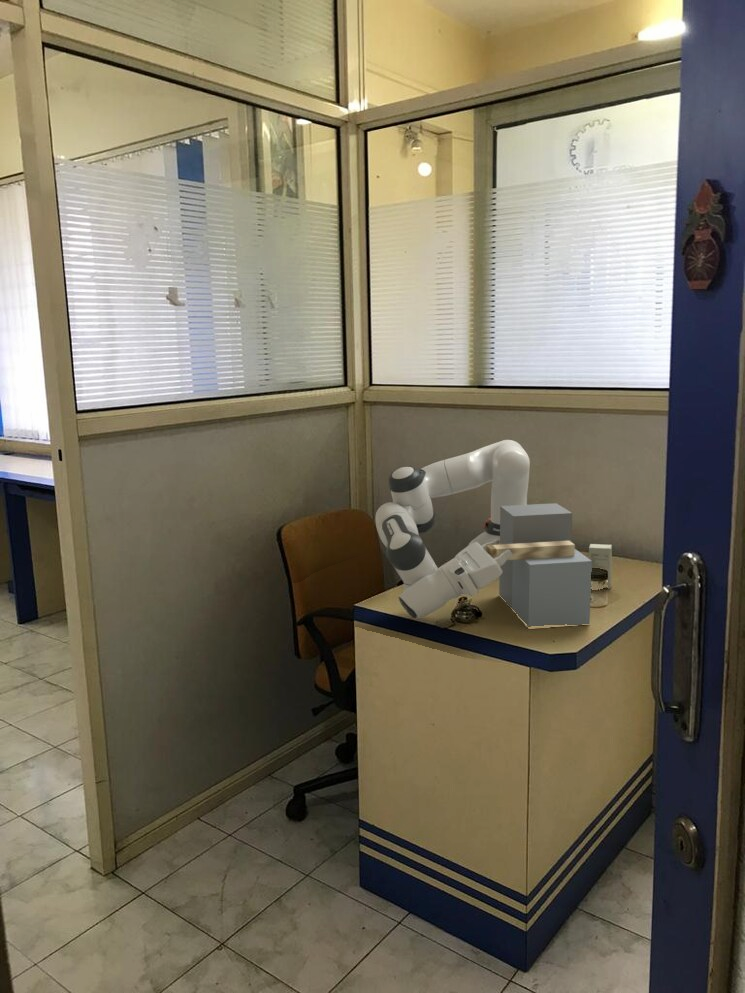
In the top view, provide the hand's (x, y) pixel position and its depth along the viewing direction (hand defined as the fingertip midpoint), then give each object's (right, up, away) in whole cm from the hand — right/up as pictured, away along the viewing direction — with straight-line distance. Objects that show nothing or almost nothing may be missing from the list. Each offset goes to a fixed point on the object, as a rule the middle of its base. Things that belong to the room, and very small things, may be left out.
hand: (505, 546), depth 208 cm
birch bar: (+7, -3, +1) cm, 7 cm away
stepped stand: (+12, -18, +12) cm, 24 cm away
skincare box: (+32, -14, +30) cm, 46 cm away
